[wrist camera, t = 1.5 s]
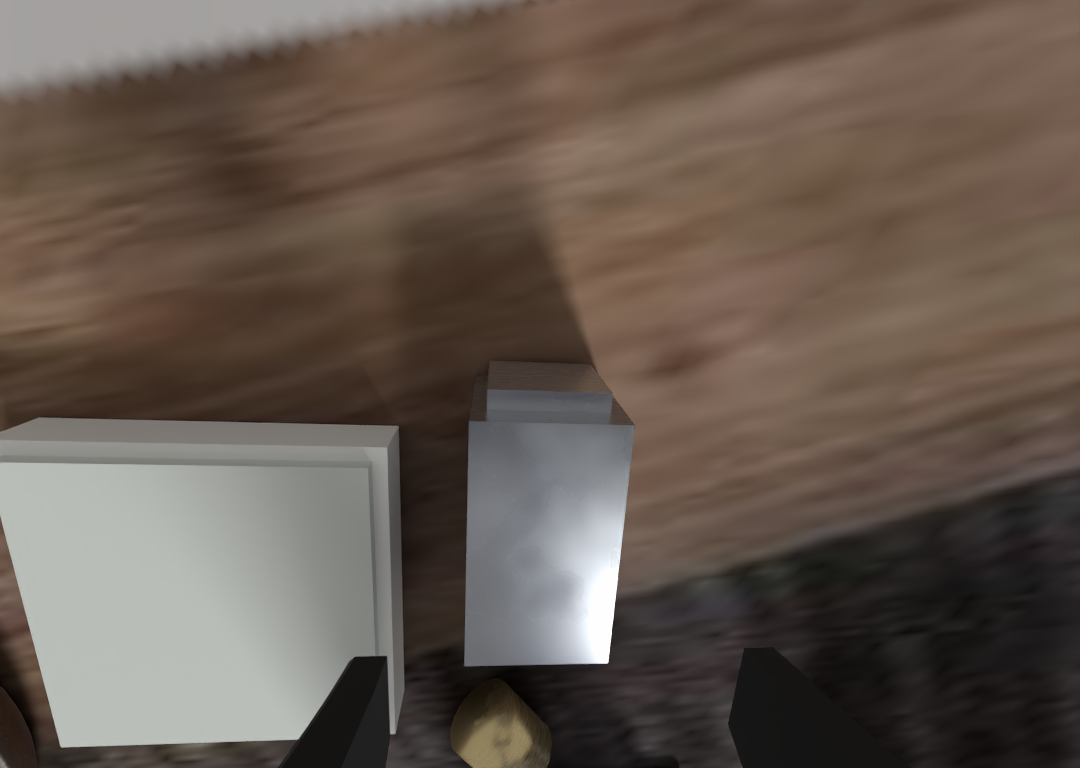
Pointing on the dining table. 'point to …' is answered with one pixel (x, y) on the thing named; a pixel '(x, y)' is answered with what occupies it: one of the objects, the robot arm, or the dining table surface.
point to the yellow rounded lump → (499, 730)
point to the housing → (544, 514)
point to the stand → (202, 571)
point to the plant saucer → (14, 736)
